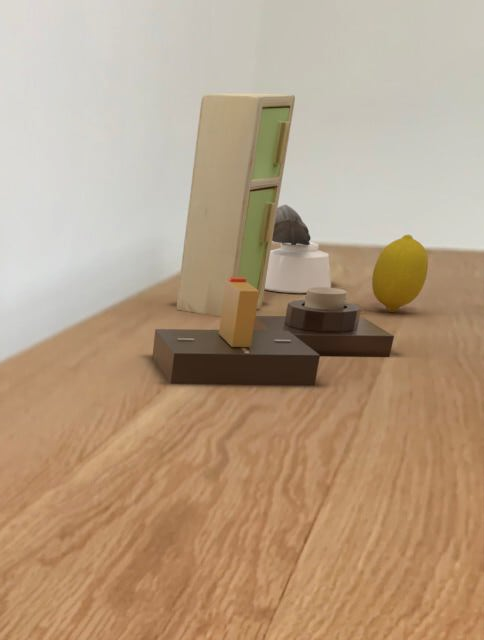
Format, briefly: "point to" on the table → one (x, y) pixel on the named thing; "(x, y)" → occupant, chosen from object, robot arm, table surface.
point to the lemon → (400, 273)
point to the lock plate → (234, 358)
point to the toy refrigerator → (233, 195)
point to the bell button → (325, 298)
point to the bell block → (331, 330)
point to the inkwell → (295, 257)
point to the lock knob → (238, 312)
